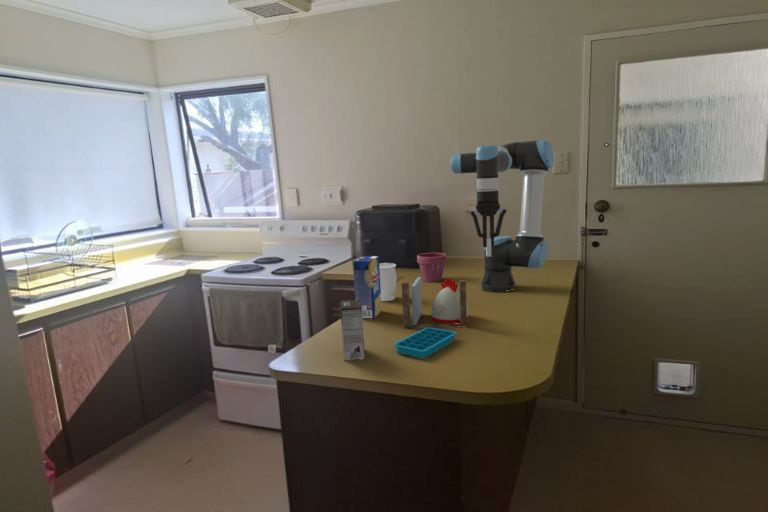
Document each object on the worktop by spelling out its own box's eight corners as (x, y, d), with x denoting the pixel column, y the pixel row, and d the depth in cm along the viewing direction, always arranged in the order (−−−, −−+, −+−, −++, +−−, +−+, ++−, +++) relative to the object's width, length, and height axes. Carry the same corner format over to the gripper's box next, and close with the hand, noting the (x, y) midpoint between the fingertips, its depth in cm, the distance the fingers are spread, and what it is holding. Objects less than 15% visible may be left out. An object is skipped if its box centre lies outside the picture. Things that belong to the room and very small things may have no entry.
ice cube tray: (392, 354, 154) (391, 344, 153) (427, 335, 170) (427, 326, 169) (424, 361, 147) (423, 351, 146) (458, 341, 163) (458, 332, 162)
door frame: (465, 323, 179) (465, 279, 176) (467, 327, 175) (466, 282, 172) (403, 325, 180) (402, 281, 178) (403, 328, 177) (401, 284, 174)
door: (414, 312, 194) (413, 277, 191) (422, 313, 193) (420, 277, 191) (408, 324, 179) (406, 286, 177) (416, 325, 179) (414, 286, 176)
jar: (395, 302, 212) (393, 267, 209) (371, 302, 214) (369, 267, 212) (399, 296, 222) (397, 262, 220) (376, 296, 224) (374, 262, 222)
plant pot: (439, 275, 259) (438, 251, 257) (451, 281, 246) (451, 255, 244) (413, 279, 255) (412, 254, 253) (424, 284, 242) (423, 258, 239)
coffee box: (343, 350, 158) (340, 300, 156) (363, 348, 159) (360, 298, 156) (343, 361, 149) (339, 308, 147) (365, 359, 150) (362, 306, 147)
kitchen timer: (448, 326, 177) (447, 285, 174) (423, 318, 188) (422, 278, 185) (477, 318, 184) (476, 278, 182) (451, 311, 196) (450, 273, 193)
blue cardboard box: (381, 310, 200) (378, 256, 197) (373, 319, 190) (370, 261, 186) (365, 310, 202) (362, 256, 198) (356, 318, 192) (352, 261, 188)
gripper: (504, 188, 182) (505, 253, 187) (467, 190, 183) (469, 254, 188) (508, 189, 175) (508, 256, 179) (470, 191, 176) (471, 258, 180)
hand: (488, 255), depth 183 cm, fingers closed
